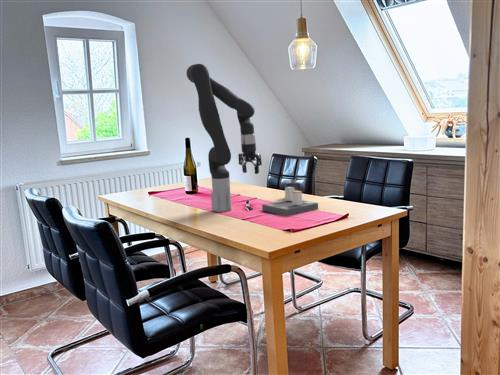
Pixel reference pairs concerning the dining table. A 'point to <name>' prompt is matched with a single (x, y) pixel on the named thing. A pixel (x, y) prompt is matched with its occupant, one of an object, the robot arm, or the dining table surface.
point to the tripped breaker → (297, 197)
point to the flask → (293, 185)
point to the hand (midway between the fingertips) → (250, 173)
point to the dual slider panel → (289, 207)
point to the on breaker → (288, 193)
